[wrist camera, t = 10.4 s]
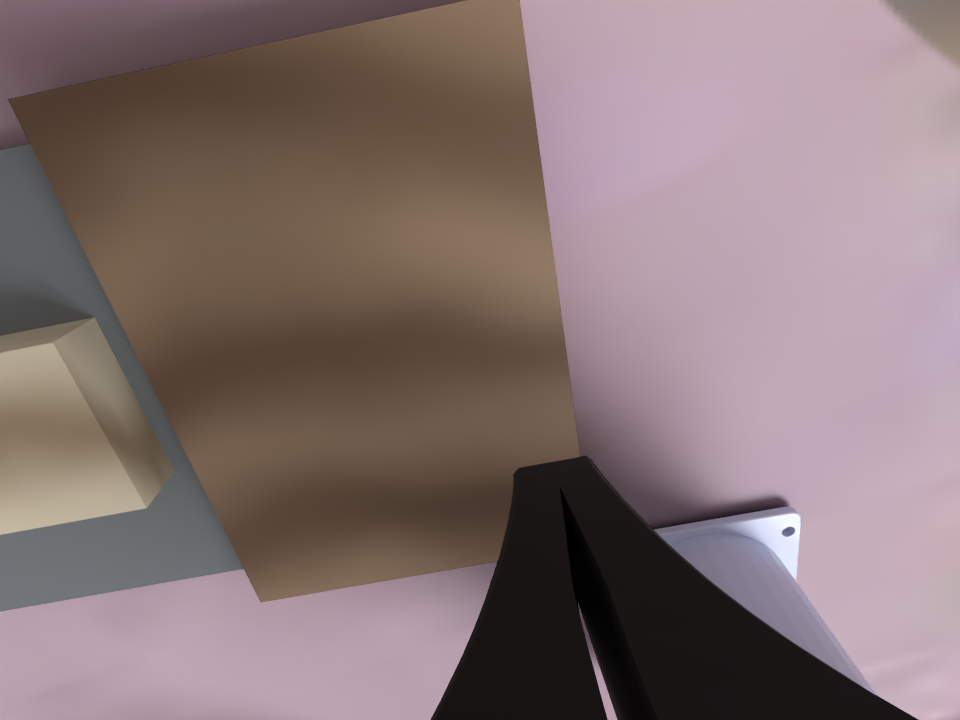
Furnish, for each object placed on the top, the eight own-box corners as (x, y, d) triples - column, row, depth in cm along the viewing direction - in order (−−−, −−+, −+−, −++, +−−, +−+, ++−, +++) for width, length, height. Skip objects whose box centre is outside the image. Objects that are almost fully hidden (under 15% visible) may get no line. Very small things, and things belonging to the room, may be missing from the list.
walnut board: (583, 517, 22) (592, 544, 21) (272, 572, 23) (260, 602, 22) (512, -1, 15) (517, -12, 13) (47, 99, 15) (8, 98, 14)
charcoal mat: (263, 554, 22) (258, 566, 22) (-17, 604, 23) (-28, 616, 22) (65, 137, 16) (51, 138, 15) (-326, 220, 16) (-353, 224, 16)
